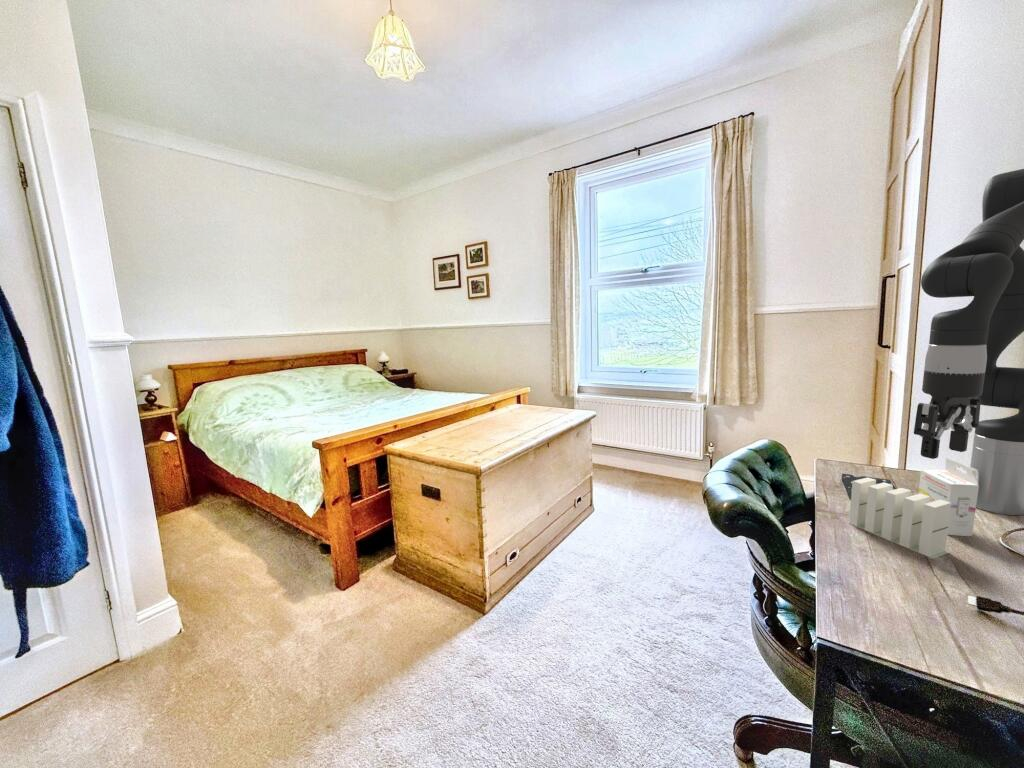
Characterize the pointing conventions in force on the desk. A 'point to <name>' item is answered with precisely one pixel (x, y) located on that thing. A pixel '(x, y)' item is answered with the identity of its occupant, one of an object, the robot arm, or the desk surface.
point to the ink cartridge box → (953, 494)
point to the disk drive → (848, 479)
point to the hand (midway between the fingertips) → (943, 454)
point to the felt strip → (915, 548)
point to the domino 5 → (934, 527)
